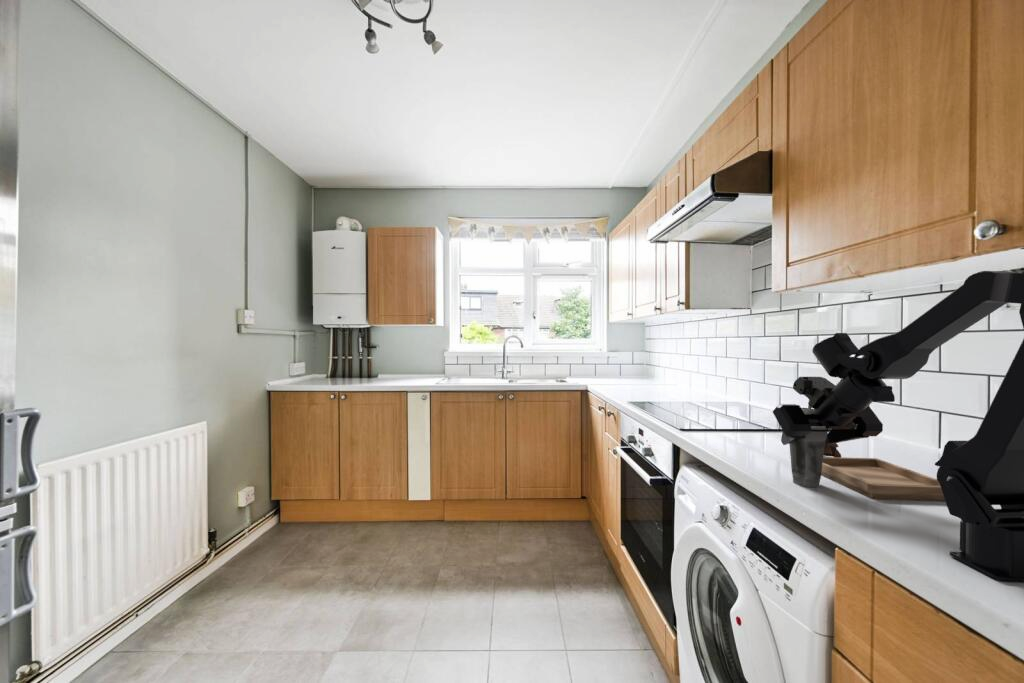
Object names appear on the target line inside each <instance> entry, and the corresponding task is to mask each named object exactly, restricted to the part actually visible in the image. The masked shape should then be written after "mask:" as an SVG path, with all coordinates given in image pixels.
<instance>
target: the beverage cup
mask: <svg viewBox="0 0 1024 683" xmlns="http://www.w3.org/2000/svg"><path fill="white" fill-rule="evenodd" d="M809 401H810V399H808V402H809ZM801 409H802V410H803V412H804V414H814V408H811V407H810V406H809V404H808V403H807V407H801ZM829 432H830V429H826V427H811V432H810V433H809V434H807V435H805V438H803V439H800V440H798V441H795V442H792V443H790V444H789V452H790V453H789V455H790V465H791V466H790V467H791V475H792V483H793V484H796V485H798V486H802V487H807V488H819V487H820V482H821V479H822V478H821V477H822V475H821V472H822V463H823V457H824V456H823V455H824V447H825V440H826V438H827V433H829Z"/></svg>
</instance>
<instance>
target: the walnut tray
mask: <svg viewBox="0 0 1024 683" xmlns="http://www.w3.org/2000/svg"><path fill="white" fill-rule="evenodd" d="M822 476H823V477H824V478H826V479H829V480H831V481H833V482H835V483H837V484H839V485H841V486H842V487H843V486H844V487H845V488H848V489H850V490H852V491H854V492H856V493H858V494H860V495H862V496H865V497H867V498H869V499H871V500H898V501H899V500H900V501H931V502H932V501H934V502H946V501H945V498H944V495H943V492H942V489H941V486H940V483H939V482H938V481H937V478H935V477H931V476H928V475H925V474H923V473H920V472H916V471H914V470H911V469H908V468H906V467H903V466H899V465H897V464H893V463H891V462H888V461H885V460H882V459H880V458H875V457H874V458H873V457H871V458H870V457H842V456H841V457H832V456H823V463H822V472H821V477H822Z"/></svg>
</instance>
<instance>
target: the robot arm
mask: <svg viewBox="0 0 1024 683" xmlns="http://www.w3.org/2000/svg"><path fill="white" fill-rule="evenodd" d="M1007 303H1008V304H1009V303H1010V304H1019V305H1020V306H1019V314H1018V315H1019V317H1020V322H1021V324H1022V329H1023V330H1024V272H1016V271H1008V270H1007V271H1006V270H1004V271H1003V270H1000V271H999V270H982V271H978V272H975V273H973V274H971V275H969V276H968V277H967V278H966V279H965V280H964V282H963V284H962V285H960V286H959V287H958V288H956V289H955V290H954V291H952V292H951V293H950V294H948V295H947V296H945V297H944V298H943V299H941V300H940V301H938V302H937V303H936V304H935V305H933V306H932V307H931V308H929V309H928V310H927V311H925V312H923V314H921V315H920V316H918V317H917V318H916V319H914V320H913V321H912V322H910V323H909V324H908V325H907V326H905V327H904V328H902V329H901V330H898V331H897V332H895V333H892V334H889V335H886V336H882V337H879V338H876V339H875V340H873V341H871V342H869V343H866V344H865V345H863V346H861V347H860V348H858V347H857V346H856V344H855V343H854V342H853V340H852V339H851V336H849V335H848V333H847V332H836V333H834V335H833V336H830V337H827V338H824V339H823V340H820V342H818V343H815V345H814V346H813V348H812V354H813V355H814V357H815V358H816V359H817V361H818V362H819V364H820V365H821V366H822V367H823V370H825V373H827V375H829V376H830V377H832V378H839V379H841V380H840V381H838V383H836V384H834V383H832V381H830V380H829V379H827V378H825V377H823V376H798V378H796V380H794V383H793V385H792V389H793V390H794V391H795V392H796V393H797V394H799V395H803V396H805V397H806V398H807V399H808V403H807V405H808V404H809V406H810V407H811V409H814V414H804V412H803V410H802V409H801V408H802V407H801V405H799V404H795V403H792V404H790V403H789V404H788V403H787V404H783V403H781V404H779V403H778V404H777V406H775V408H774V409H773V410H772V414H773V415H774V417H775V419H776V421H777V423H778V425H779V426H780V428H781V430H782V433H781V438H780V441H781V444H782V445H783V446H786V445H790V443H792V442H795V441H798V440H800V439H803V438H805V435H807V434H809V433H810V432H811V427H826V429H828V430H829V431H828V432H827V433H828V434H827V438H826V440H825V444H826V445H829V444H834V443H836V444H839V443H844V442H849V441H854V440H860V439H868V438H870V437H877V436H878V435H880V434H881V433H883V430H884V429H883V428H884V424H883V422H882V421H881V420H880V419H879V417H878V416H877V415H876V413H875V412H874V410H873V409H872V408H871V407H870V405H871V404H872V403H894V402H895V400H896V398H895V394H894V391H893V386H892V385H887V384H886V382H884V380H906V379H907V380H908V379H909V378H912V377H913V376H914V375H916V374H917V373H918V372H919V371H920V370H921V369H922V368H923V367H924V366H926V364H928V361H929V358H930V355H931V354H932V353H933V352H934V351H935V350H937V349H938V348H939V347H941V346H942V345H944V344H946V343H947V342H948V341H950V340H952V339H954V338H955V337H957V336H958V335H960V334H961V333H962V332H964V331H965V330H968V329H969V328H970V327H972V326H973V325H975V324H976V323H978V322H979V321H982V319H984V318H986V317H987V316H990V314H992V313H994V312H995V311H997V310H998V309H1000V308H1001V307H1003V306H1005V305H1006V304H1007ZM809 399H810V401H809ZM934 465H935V466H936V467H938V469H937V472H936V479H937V481H938V482H939V483H940V486H941V489H942V492H943V495H944V498H945V501H944V502H945V503H946V506H947V510H948V512H949V515H951V516H953V517H956V518H958V519H960V520H961V521H960V522H959V550H960V551H955V550H954V551H953V550H951V551H949V556H950V557H952V558H954V559H957V561H960V562H962V563H964V564H965V565H968V566H970V567H972V568H974V569H976V570H977V571H979V572H981V573H983V574H985V575H987V576H989V577H991V578H992V579H995V580H998V581H1002V582H1003V581H1004V582H1024V338H1023V339H1022V341H1021V344H1020V345H1019V347H1018V350H1017V351H1016V353H1015V355H1014V357H1013V359H1012V361H1011V363H1010V365H1009V368H1008V369H1007V371H1006V374H1005V375H1004V377H1003V379H1002V381H1001V384H1000V385H999V388H998V389H997V392H996V393H995V395H994V398H993V400H992V401H991V403H990V405H989V408H988V409H987V411H986V414H985V415H984V417H983V420H982V421H981V424H980V425H979V427H978V430H977V431H976V433H975V435H974V436H973V437H971V438H970V439H969V440H948V441H947V442H946V443H945V444H944V447H943V450H942V454H941V457H940V458H939V460H938V461H936V462H934ZM993 506H1000V508H994V507H993Z"/></svg>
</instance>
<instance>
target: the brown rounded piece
mask: <svg viewBox="0 0 1024 683" xmlns="http://www.w3.org/2000/svg"><path fill="white" fill-rule="evenodd" d="M828 433H829V432H827V434H828ZM837 448H839V445H838V443H834V444H829V445H826V444H825V447H824V455H823V457H842V454H841V453H840V451H839V449H837Z"/></svg>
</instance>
